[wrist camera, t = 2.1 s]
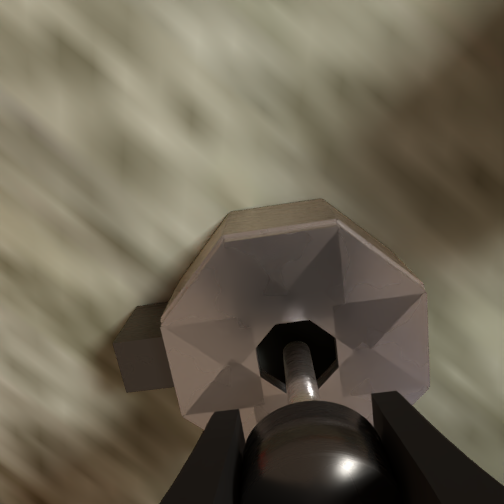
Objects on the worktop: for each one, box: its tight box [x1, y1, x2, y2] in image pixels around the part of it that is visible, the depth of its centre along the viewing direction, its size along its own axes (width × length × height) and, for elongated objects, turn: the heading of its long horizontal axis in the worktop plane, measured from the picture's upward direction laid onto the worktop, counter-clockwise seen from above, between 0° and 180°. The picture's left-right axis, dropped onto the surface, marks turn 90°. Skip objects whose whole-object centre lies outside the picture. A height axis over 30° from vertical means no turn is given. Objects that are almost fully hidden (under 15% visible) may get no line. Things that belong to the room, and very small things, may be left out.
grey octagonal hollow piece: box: [113, 199, 430, 443], centre depth 16 cm, size 9×10×4 cm
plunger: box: [240, 341, 404, 504], centre depth 11 cm, size 3×3×6 cm
